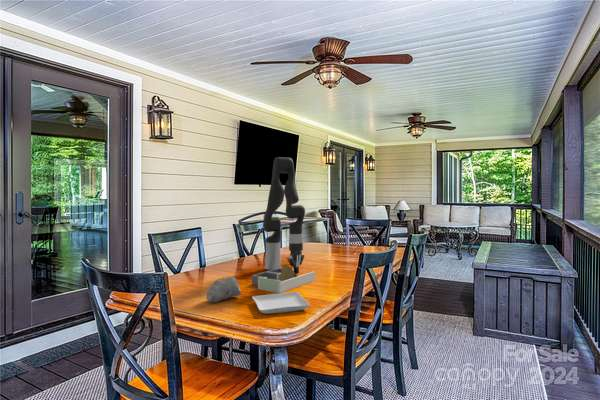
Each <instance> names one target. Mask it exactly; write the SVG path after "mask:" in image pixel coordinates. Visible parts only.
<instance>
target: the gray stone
mask: <svg viewBox="0 0 600 400" xmlns="http://www.w3.org/2000/svg"><path fill="white" fill-rule="evenodd" d="M240 288H241V287H240V285H239V283H238V280H237V278H235V277H234V276H228V277H224V278H222V279H217V280H215V281H214V283H212V284H211V286H209V288H208V289H207V291H206V293H205V296H206V300H207V302H210V303H214V304H215V303H218V302H220V301H222V300H227V299H230V298H233V297H238V296H240V295H241V294H242V292H241V289H240Z"/></svg>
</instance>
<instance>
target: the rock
mask: <svg viewBox="0 0 600 400" xmlns="http://www.w3.org/2000/svg"><path fill="white" fill-rule="evenodd" d="M281 268H282V271H281V275H280V280H281V281H285V280H288V279H291V278H294V277H297V276H298V274H295V272H294V271H293V270H292V269H293V268H292V267H290V266H289V265H288V264H283V265H282V267H281Z"/></svg>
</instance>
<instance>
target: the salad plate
mask: <svg viewBox="0 0 600 400" xmlns="http://www.w3.org/2000/svg"><path fill="white" fill-rule="evenodd" d="M252 300H253V302H254V303H255V304H256V306H257V309H258V311H259V312H260V313H261V314H266V315H267V314H268V315H270V314H271V315H273V314H281V313H283V314H284V313H289V312H299V311H303V310H307V309H308V308H309V307H310V303H309V302H308V300H306V299H305V298H304V297H303V296H302V295H301V294H300V293H299V292H298V291H293V292H292V291H291V292H281V293H270V294H265V295H264V294H262V295H252Z"/></svg>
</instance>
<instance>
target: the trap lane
mask: <svg viewBox="0 0 600 400" xmlns="http://www.w3.org/2000/svg"><path fill="white" fill-rule="evenodd" d="M292 270H293V271H294V268H292ZM281 271H282V267H281V268H278V269H274V270H267V271H264V272H259V273H256V274H252V275H251V285H252V286H257V289H258V290H260V291H267V292H271V293H275V294H279V293H285V292H287V291H290V290H292V289H295V288H298V287H302V286H304V285H307V284H309V283H312V282H315V281H316V271H310V272H308V273H304V274H301V275H299V276H298V275H297V277H294V278H291V279H288V280H285V281H281V280H280V275H281Z"/></svg>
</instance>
